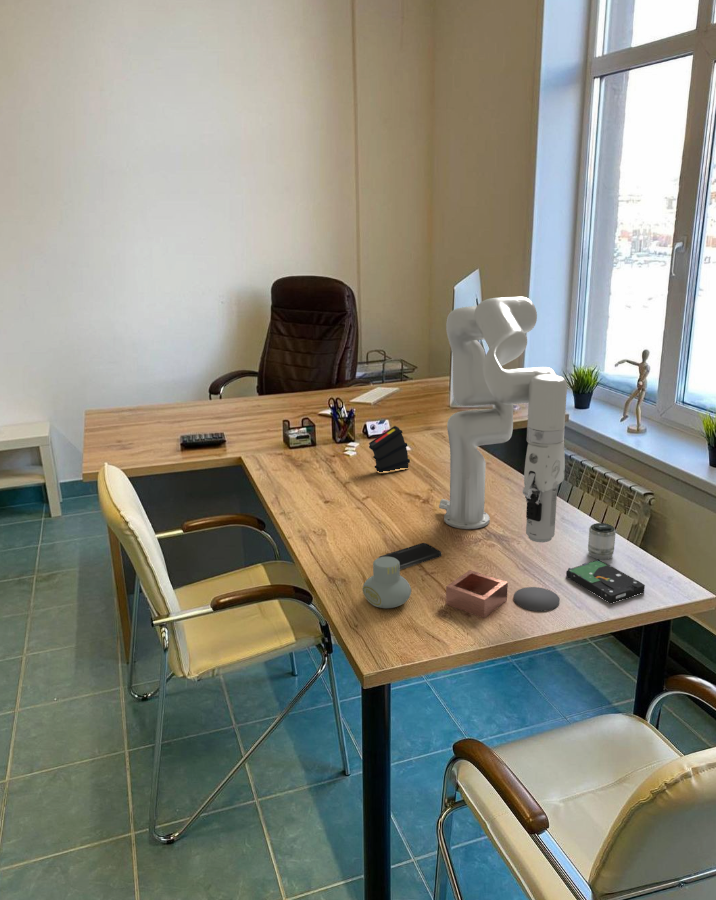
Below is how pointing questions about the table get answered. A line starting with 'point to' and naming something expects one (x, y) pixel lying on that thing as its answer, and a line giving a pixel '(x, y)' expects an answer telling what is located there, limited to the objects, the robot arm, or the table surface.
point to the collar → (473, 602)
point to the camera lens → (601, 541)
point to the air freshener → (386, 584)
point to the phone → (414, 555)
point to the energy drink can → (544, 517)
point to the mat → (536, 599)
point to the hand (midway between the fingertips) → (541, 513)
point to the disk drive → (605, 581)
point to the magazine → (390, 450)
